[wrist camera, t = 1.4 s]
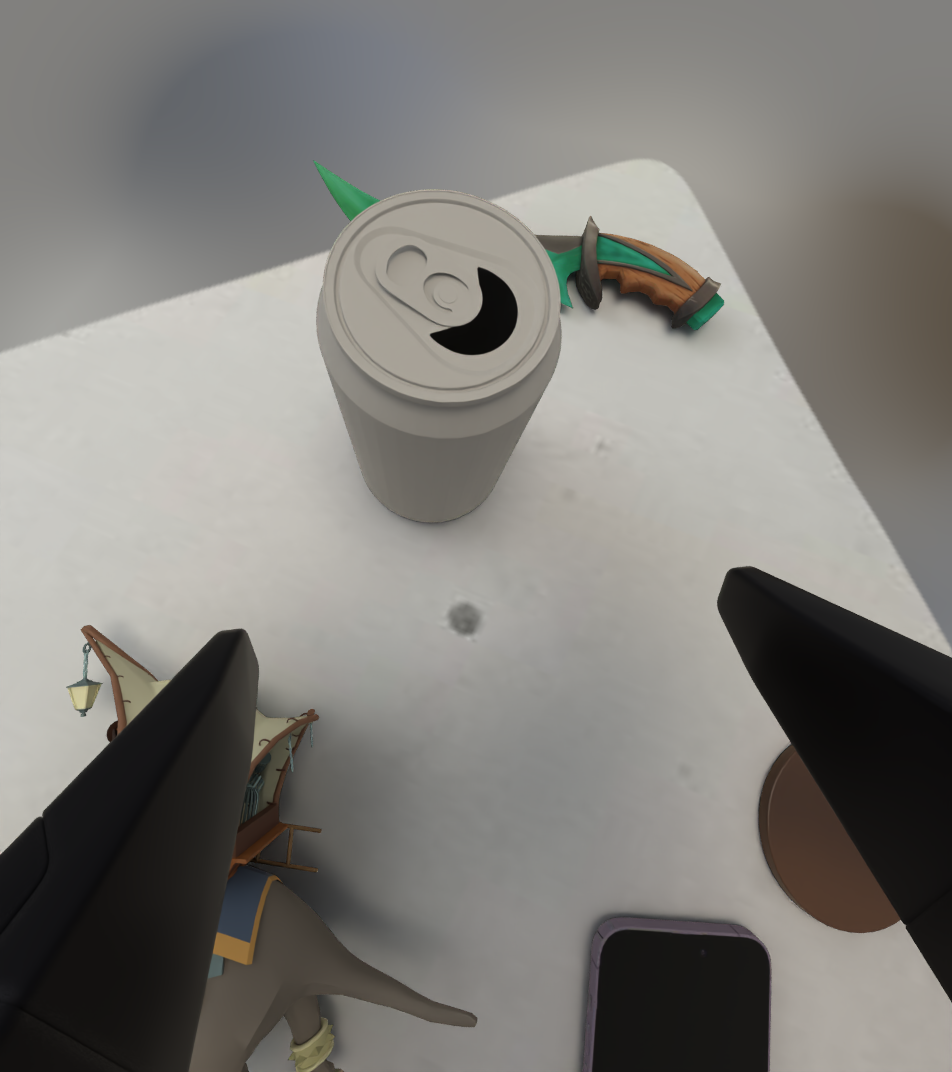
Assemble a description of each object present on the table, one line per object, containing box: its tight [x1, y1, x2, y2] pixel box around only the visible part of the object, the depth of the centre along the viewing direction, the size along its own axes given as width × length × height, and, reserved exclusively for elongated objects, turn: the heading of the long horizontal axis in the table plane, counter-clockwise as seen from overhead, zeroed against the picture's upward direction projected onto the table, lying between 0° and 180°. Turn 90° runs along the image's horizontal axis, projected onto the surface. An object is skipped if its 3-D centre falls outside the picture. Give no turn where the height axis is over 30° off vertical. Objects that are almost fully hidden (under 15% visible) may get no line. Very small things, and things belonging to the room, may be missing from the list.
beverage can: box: [316, 189, 561, 523], centre depth 18 cm, size 6×6×12 cm
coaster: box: [759, 745, 901, 933], centre depth 23 cm, size 8×8×1 cm
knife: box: [314, 161, 724, 330], centre depth 25 cm, size 21×2×5 cm
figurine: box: [66, 625, 477, 1072], centre depth 17 cm, size 20×6×17 cm
